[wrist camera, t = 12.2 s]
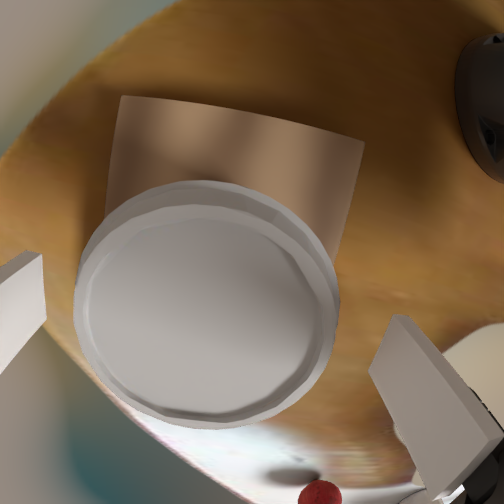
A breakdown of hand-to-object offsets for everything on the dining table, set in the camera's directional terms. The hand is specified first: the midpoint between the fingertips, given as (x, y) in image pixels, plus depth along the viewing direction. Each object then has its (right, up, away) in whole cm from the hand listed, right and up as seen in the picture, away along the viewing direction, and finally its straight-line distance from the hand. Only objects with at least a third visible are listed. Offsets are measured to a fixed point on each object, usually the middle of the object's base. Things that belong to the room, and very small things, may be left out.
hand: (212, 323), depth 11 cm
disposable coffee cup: (-1, +4, +10) cm, 11 cm away
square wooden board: (-1, +5, +13) cm, 14 cm away
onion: (+10, -29, +26) cm, 40 cm away
